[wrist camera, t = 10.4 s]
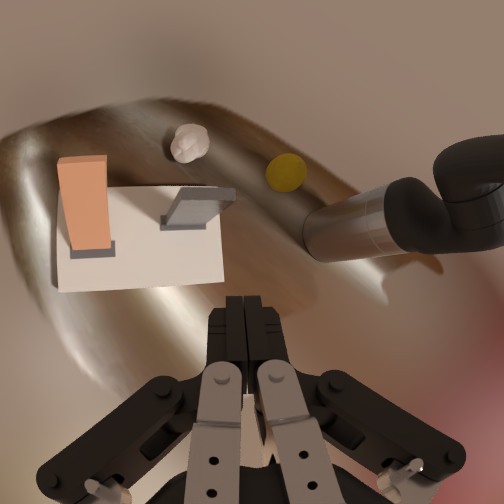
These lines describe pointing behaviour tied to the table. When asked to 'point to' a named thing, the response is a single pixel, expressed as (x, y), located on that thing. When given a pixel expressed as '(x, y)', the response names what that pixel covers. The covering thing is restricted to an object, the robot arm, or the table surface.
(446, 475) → the robot arm
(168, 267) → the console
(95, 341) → the table surface
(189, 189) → the grey paddle
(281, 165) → the lemon
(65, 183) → the terracotta paddle
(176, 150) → the dumpling
